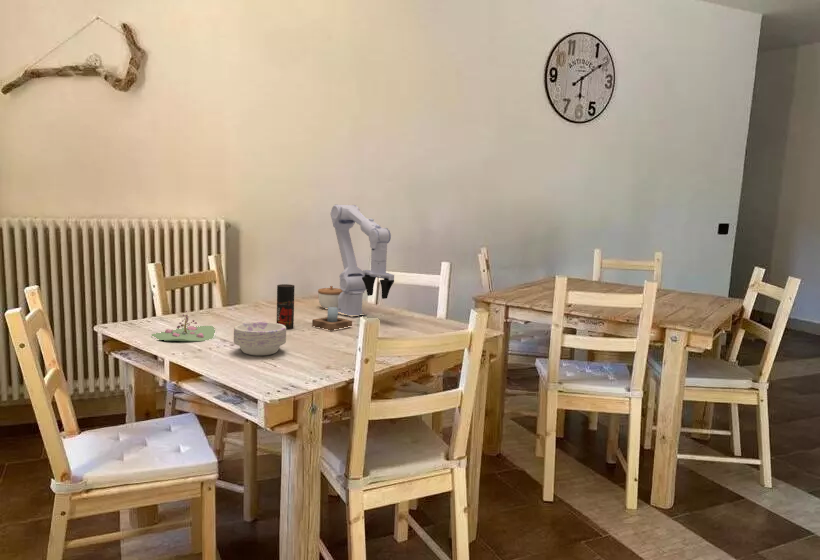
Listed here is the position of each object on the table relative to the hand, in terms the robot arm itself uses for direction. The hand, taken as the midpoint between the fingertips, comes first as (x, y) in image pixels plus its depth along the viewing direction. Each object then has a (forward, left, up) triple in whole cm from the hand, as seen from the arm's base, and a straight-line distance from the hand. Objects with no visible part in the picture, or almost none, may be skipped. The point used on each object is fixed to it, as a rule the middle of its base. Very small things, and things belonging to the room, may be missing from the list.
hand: (377, 296), depth 236 cm
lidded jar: (-31, +5, -10) cm, 33 cm away
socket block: (-5, -18, -10) cm, 21 cm away
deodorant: (-14, -32, -10) cm, 36 cm away
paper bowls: (+7, -58, -10) cm, 59 cm away
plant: (-26, -62, -11) cm, 68 cm away
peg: (-5, -18, -10) cm, 21 cm away
